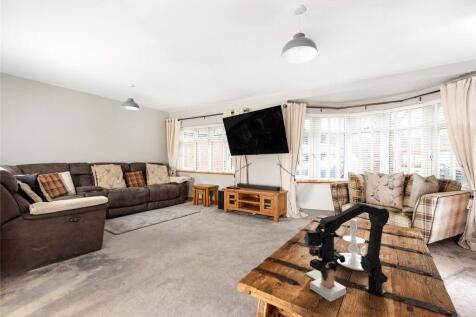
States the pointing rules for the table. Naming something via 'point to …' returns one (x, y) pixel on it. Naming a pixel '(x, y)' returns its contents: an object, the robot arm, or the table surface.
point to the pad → (314, 274)
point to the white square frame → (328, 290)
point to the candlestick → (353, 249)
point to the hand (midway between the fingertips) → (327, 279)
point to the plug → (328, 280)
